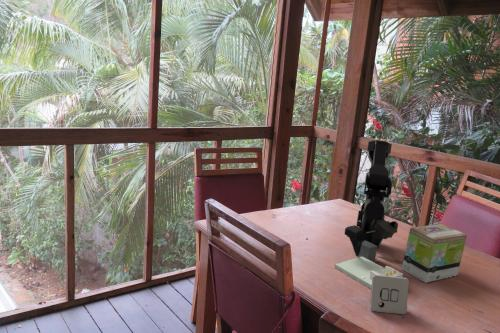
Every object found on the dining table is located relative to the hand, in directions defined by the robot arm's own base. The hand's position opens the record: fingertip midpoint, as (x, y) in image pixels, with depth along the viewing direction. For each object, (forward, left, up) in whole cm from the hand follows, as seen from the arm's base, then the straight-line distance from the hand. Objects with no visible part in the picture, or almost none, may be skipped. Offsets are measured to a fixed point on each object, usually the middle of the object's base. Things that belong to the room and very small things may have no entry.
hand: (366, 252), depth 136 cm
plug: (0, 0, -2) cm, 2 cm away
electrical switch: (+20, +23, -2) cm, 31 cm away
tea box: (-11, +17, -2) cm, 20 cm away
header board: (+9, +9, -2) cm, 13 cm away
